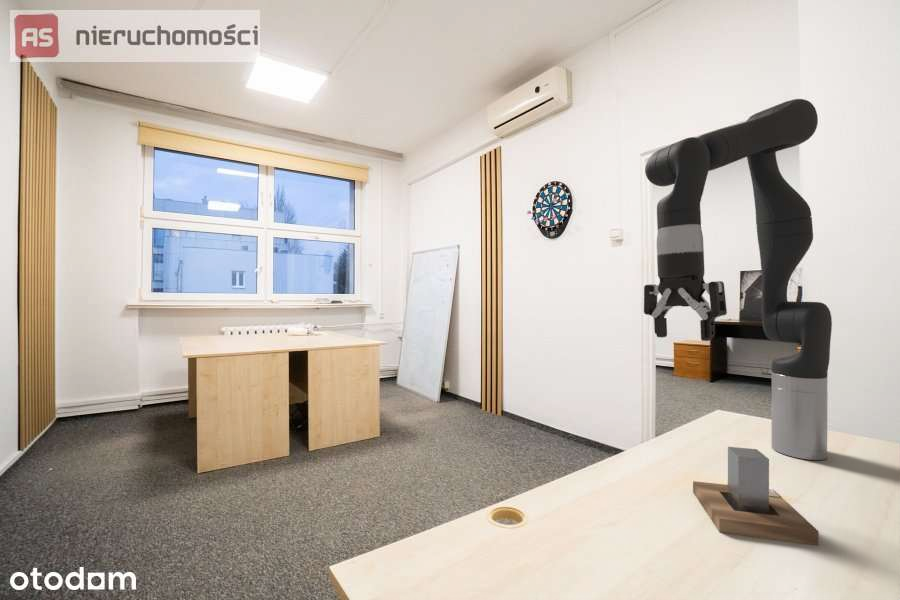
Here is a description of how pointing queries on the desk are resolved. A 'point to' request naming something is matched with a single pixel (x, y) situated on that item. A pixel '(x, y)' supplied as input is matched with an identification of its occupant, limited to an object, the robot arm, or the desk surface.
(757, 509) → the peg
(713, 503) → the socket board
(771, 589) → the desk surface
